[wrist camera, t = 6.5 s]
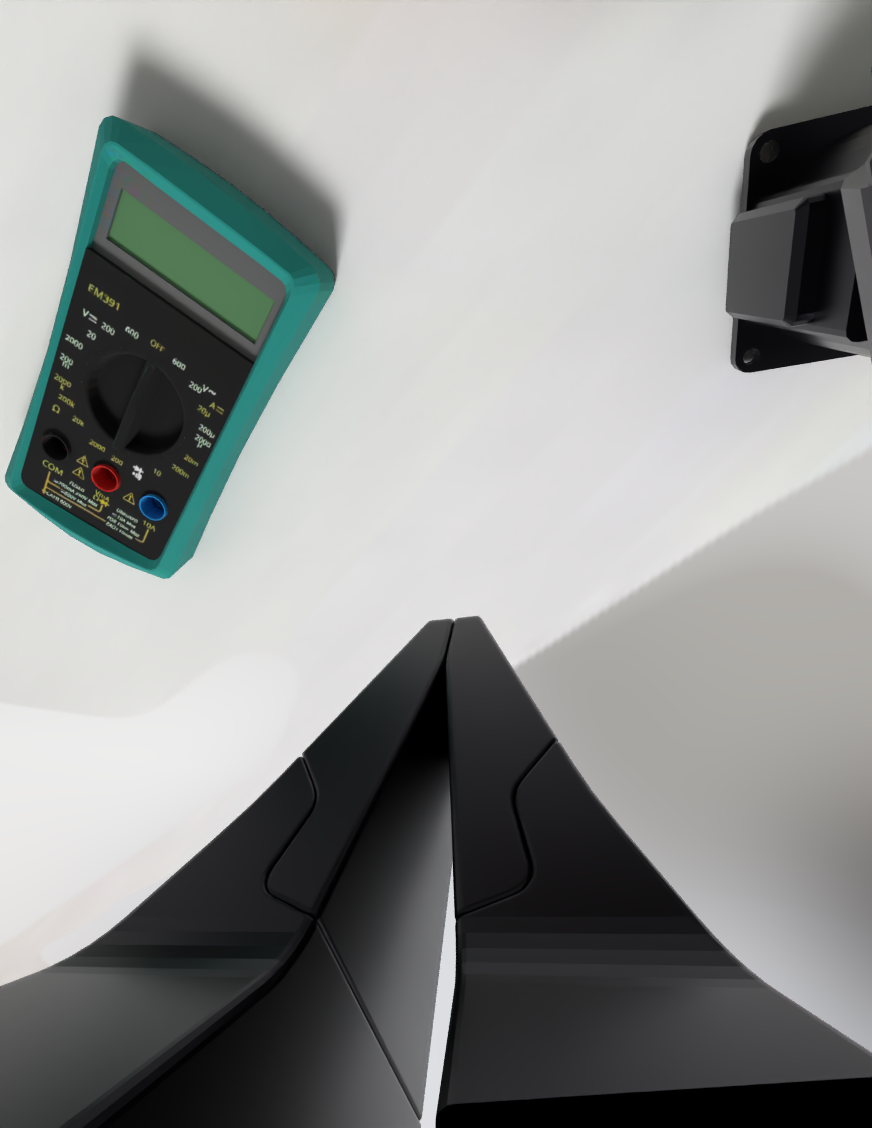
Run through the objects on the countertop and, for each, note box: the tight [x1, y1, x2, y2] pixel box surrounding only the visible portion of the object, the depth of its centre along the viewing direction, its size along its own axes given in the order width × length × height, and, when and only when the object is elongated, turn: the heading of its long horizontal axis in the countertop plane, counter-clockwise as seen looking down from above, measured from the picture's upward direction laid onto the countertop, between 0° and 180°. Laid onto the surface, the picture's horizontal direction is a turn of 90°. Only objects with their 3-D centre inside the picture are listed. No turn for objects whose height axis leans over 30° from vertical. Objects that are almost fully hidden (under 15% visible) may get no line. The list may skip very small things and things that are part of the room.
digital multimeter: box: [5, 116, 335, 579], centre depth 19 cm, size 7×15×3 cm, turn 145°
